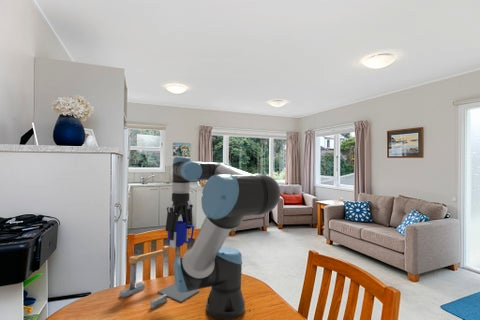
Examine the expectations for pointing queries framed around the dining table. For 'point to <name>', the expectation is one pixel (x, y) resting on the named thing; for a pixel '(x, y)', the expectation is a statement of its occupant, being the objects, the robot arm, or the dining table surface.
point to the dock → (138, 287)
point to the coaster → (177, 293)
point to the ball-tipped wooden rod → (149, 255)
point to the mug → (181, 233)
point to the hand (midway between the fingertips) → (179, 245)
